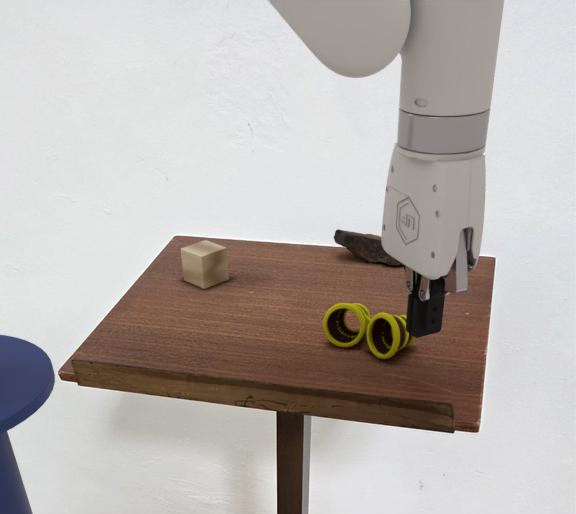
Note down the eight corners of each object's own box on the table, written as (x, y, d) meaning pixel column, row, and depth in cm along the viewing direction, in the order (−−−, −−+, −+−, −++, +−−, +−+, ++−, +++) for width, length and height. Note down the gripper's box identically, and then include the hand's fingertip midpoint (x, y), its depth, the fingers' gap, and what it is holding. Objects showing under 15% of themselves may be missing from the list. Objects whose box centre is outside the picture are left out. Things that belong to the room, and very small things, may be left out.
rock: (412, 276, 108) (427, 245, 104) (391, 291, 103) (406, 260, 100) (346, 233, 110) (358, 201, 106) (323, 246, 106) (335, 214, 102)
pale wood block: (204, 289, 99) (201, 256, 96) (183, 280, 101) (180, 248, 99) (229, 279, 101) (226, 247, 99) (208, 271, 104) (205, 239, 101)
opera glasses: (415, 355, 85) (423, 311, 82) (393, 365, 81) (401, 320, 79) (342, 334, 89) (348, 293, 87) (319, 343, 86) (324, 300, 83)
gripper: (359, 120, 67) (354, 312, 79) (456, 157, 57) (433, 372, 68) (430, 110, 70) (414, 298, 81) (535, 144, 59) (500, 354, 71)
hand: (423, 331), depth 75 cm, fingers closed
